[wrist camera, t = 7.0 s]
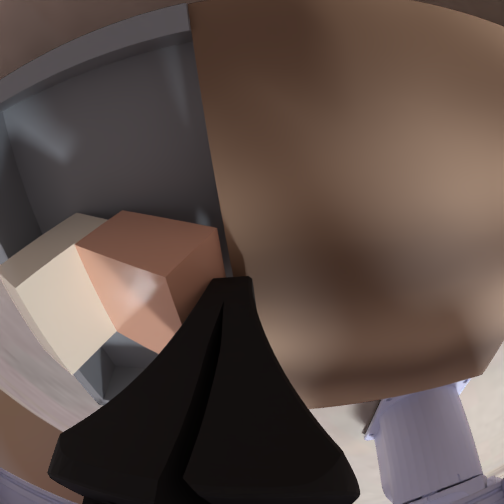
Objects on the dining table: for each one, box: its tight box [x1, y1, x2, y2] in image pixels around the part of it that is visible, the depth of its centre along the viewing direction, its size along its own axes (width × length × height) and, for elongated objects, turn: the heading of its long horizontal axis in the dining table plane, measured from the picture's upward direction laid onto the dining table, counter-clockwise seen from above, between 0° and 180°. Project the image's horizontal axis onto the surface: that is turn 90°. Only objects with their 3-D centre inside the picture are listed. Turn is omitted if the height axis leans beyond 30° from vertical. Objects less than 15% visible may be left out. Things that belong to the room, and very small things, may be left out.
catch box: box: [0, 3, 233, 405], centre depth 12 cm, size 18×10×3 cm, turn 7°
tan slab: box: [188, 0, 504, 409], centre depth 11 cm, size 18×14×3 cm
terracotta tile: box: [75, 210, 226, 354], centre depth 11 cm, size 4×4×2 cm
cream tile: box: [0, 213, 116, 375], centre depth 11 cm, size 4×4×2 cm
